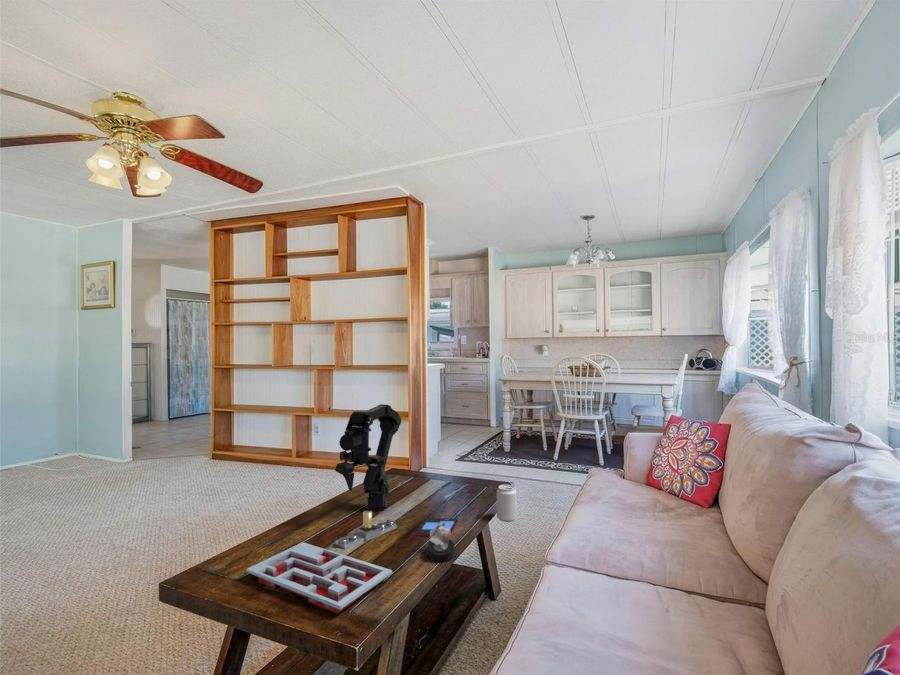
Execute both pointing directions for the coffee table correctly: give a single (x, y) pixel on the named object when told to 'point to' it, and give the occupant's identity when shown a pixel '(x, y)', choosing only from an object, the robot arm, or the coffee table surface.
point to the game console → (434, 522)
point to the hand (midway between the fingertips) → (360, 487)
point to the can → (506, 503)
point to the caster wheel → (440, 544)
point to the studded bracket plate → (365, 534)
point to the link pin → (367, 520)
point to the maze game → (320, 575)
